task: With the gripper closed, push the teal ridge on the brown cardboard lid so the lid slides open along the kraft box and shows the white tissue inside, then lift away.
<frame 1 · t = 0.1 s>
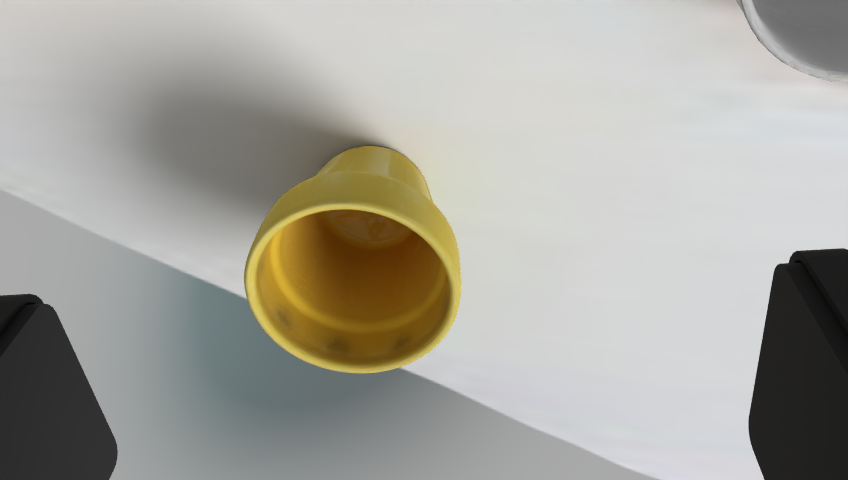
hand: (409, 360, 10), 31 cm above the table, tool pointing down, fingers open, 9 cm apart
plant pot: (373, 192, 45), on the table
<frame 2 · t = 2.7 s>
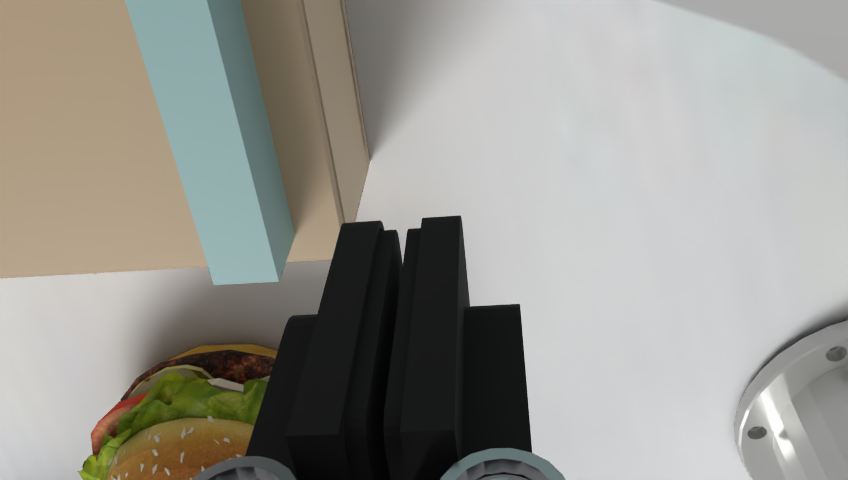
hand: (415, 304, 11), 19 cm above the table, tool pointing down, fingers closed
box: (49, 13, 29), on the table
food: (260, 425, 40), on the table
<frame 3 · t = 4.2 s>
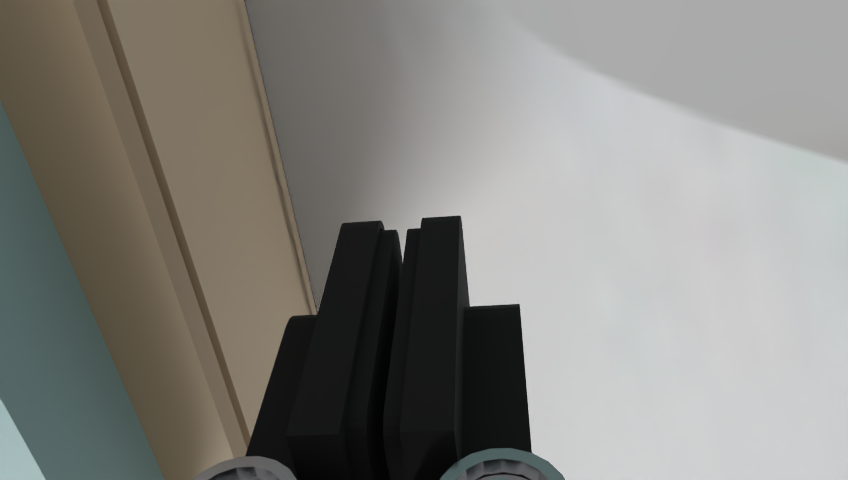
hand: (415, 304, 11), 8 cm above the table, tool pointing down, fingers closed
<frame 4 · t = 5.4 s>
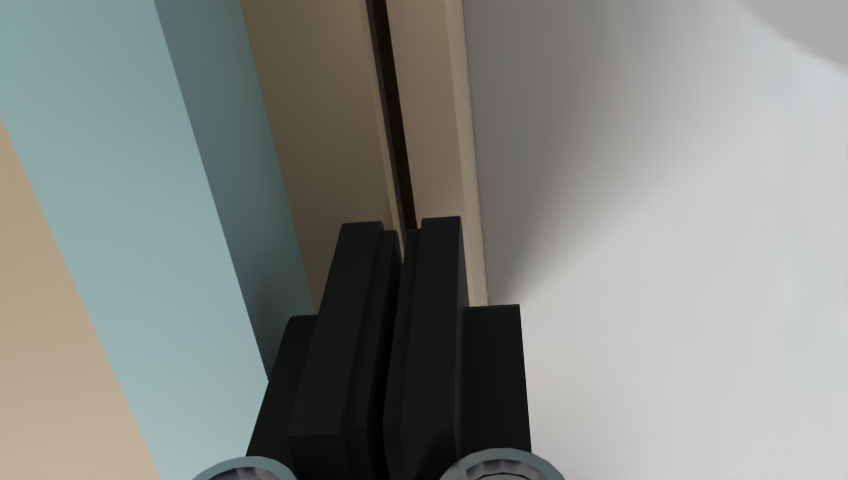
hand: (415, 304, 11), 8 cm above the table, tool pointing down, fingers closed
box: (20, 135, 19), on the table
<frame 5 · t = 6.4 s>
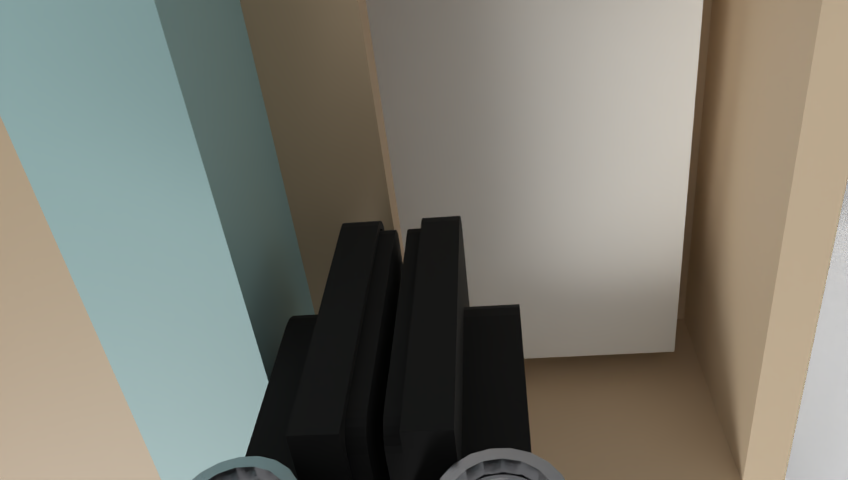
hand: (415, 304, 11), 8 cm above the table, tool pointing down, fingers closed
box: (249, 114, 18), on the table
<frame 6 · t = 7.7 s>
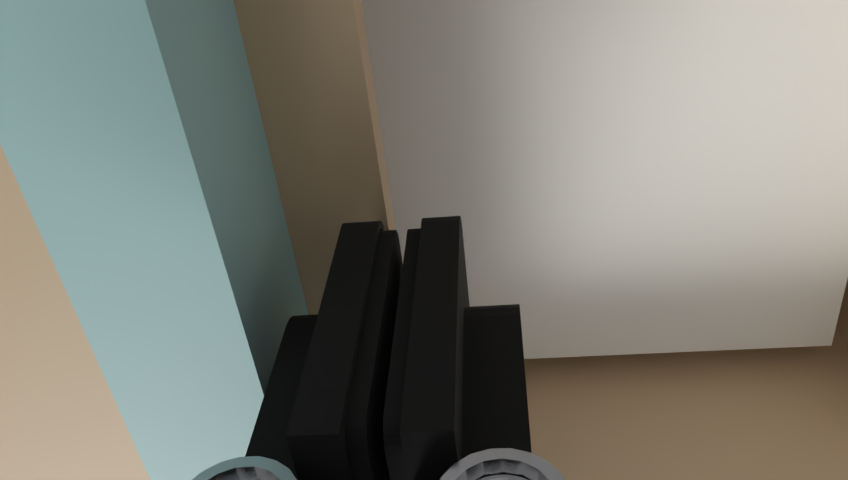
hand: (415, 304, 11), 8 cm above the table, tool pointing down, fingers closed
box: (392, 100, 18), on the table
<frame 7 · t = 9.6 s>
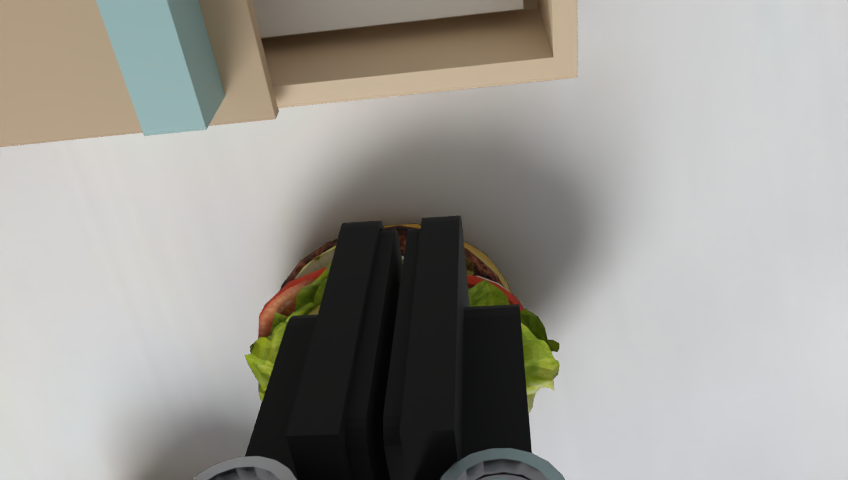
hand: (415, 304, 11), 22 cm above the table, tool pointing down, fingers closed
food: (408, 314, 41), on the table
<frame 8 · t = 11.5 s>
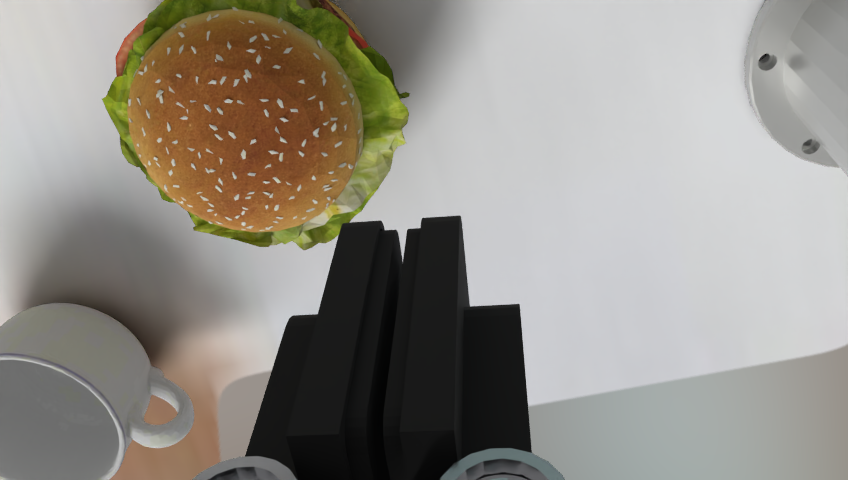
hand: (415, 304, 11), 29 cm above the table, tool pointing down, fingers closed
teacup: (113, 346, 52), on the table
food: (279, 89, 41), on the table
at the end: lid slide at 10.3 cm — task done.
